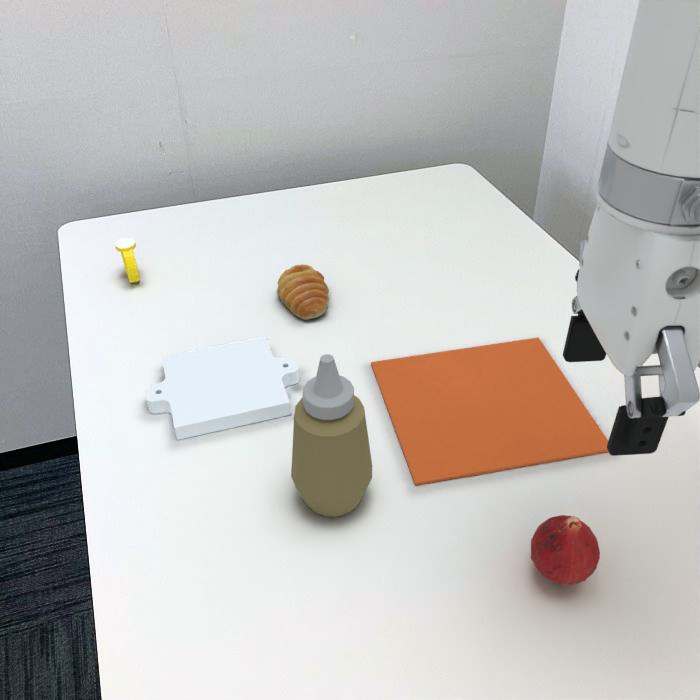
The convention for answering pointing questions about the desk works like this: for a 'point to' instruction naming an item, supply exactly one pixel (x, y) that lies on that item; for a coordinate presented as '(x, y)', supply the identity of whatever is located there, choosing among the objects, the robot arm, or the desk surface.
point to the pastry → (303, 291)
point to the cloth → (484, 410)
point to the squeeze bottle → (330, 443)
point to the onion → (565, 550)
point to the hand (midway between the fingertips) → (605, 402)
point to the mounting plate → (223, 387)
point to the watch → (128, 258)
